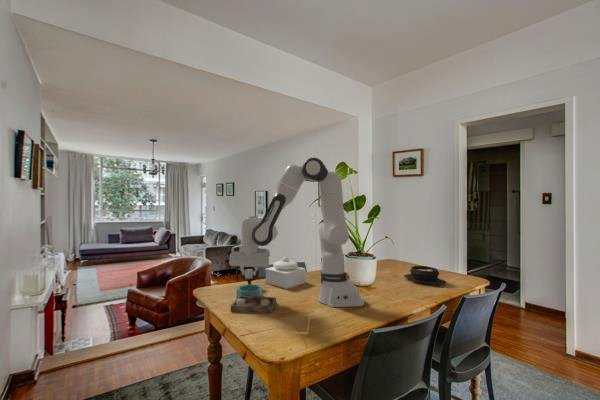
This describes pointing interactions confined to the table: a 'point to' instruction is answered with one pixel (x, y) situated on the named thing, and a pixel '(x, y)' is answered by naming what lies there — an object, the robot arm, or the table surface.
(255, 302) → the tray
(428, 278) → the black hat
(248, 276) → the pebble
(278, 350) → the table surface
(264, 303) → the pebble
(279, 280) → the butter dish
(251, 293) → the bowl
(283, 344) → the table surface
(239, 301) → the pebble
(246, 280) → the ice cream bowl
